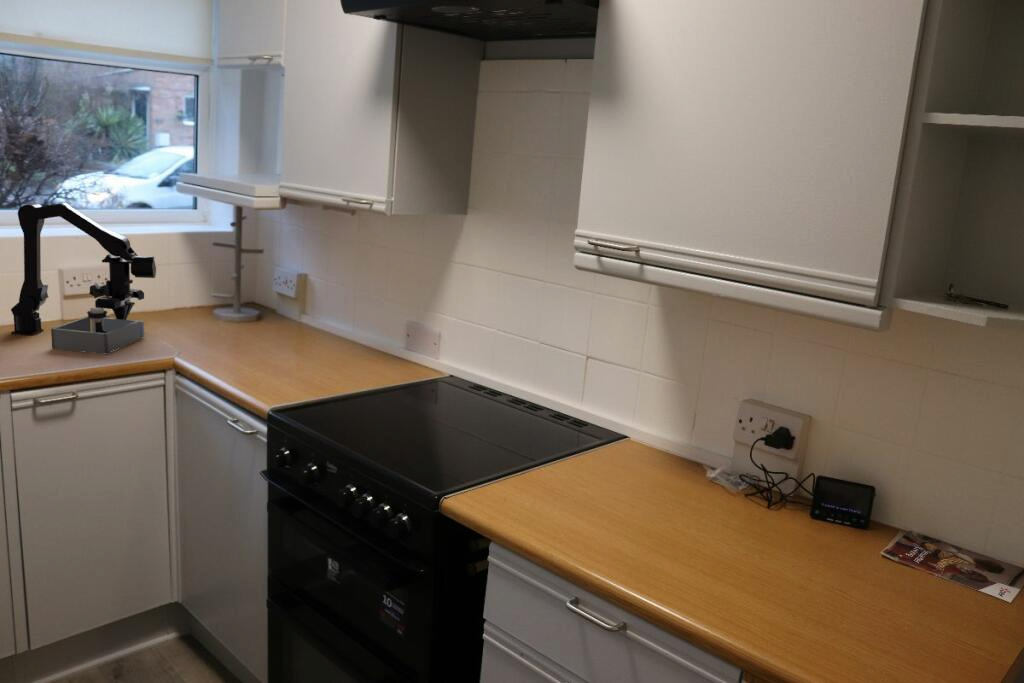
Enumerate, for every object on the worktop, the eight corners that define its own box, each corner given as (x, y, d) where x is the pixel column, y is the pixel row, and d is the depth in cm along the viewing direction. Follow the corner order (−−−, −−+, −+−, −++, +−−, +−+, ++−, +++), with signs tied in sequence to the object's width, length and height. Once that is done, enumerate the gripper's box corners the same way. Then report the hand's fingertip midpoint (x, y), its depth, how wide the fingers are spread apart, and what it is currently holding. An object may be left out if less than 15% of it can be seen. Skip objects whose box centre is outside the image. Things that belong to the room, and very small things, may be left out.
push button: (92, 345, 240) (91, 312, 238) (80, 342, 242) (78, 309, 240) (112, 341, 246) (111, 308, 243) (99, 338, 248) (98, 306, 246)
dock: (88, 334, 254) (87, 316, 252) (139, 339, 253) (139, 321, 251) (52, 348, 236) (51, 328, 235) (107, 354, 235) (106, 334, 234)
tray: (94, 331, 256) (93, 316, 255) (144, 336, 256) (143, 321, 254) (58, 345, 239) (58, 328, 238) (112, 350, 238) (112, 334, 237)
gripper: (111, 270, 263) (112, 316, 266) (77, 279, 245) (79, 329, 248) (144, 273, 262) (145, 320, 266) (113, 282, 244) (114, 332, 248)
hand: (121, 325), depth 257 cm, fingers closed
